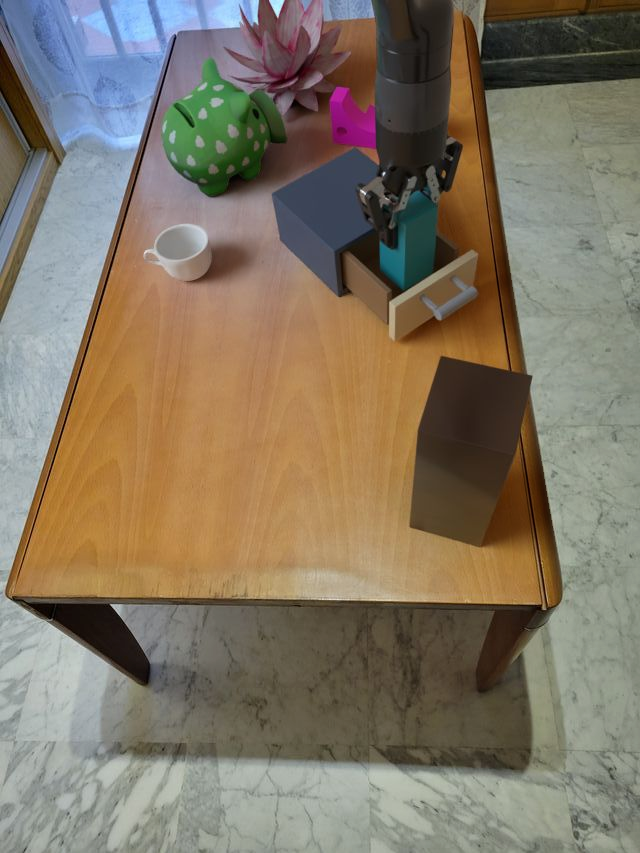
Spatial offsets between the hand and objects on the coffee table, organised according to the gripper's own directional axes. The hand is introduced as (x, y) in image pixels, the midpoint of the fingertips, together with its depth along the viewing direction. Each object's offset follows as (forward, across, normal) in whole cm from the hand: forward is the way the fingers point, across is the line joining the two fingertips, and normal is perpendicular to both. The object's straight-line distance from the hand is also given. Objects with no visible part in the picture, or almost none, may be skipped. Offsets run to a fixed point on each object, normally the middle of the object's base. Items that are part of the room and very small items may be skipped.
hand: (407, 234), depth 79 cm
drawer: (+10, 0, -1) cm, 10 cm away
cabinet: (+11, 0, +13) cm, 17 cm away
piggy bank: (+11, -5, +39) cm, 41 cm away
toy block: (+11, +19, +29) cm, 37 cm away
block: (+6, 0, 0) cm, 6 cm away
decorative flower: (+11, +15, +50) cm, 53 cm away
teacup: (+11, -22, +25) cm, 35 cm away
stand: (+11, -16, -28) cm, 34 cm away
